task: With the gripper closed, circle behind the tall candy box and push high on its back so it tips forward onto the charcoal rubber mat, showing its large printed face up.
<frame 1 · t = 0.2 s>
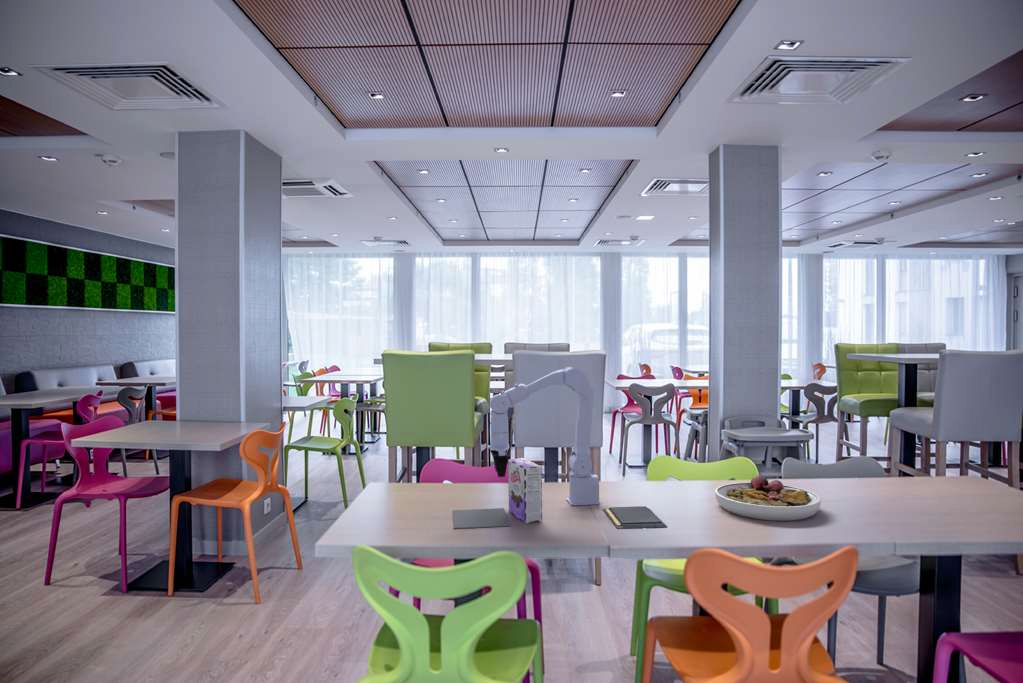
hand: (500, 474, 194), 10 cm above the table, fingers open, 7 cm apart
bowl: (766, 510, 186), on the table
candy box: (525, 517, 181), on the table
wallet: (633, 520, 178), on the table
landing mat: (480, 518, 179), on the table
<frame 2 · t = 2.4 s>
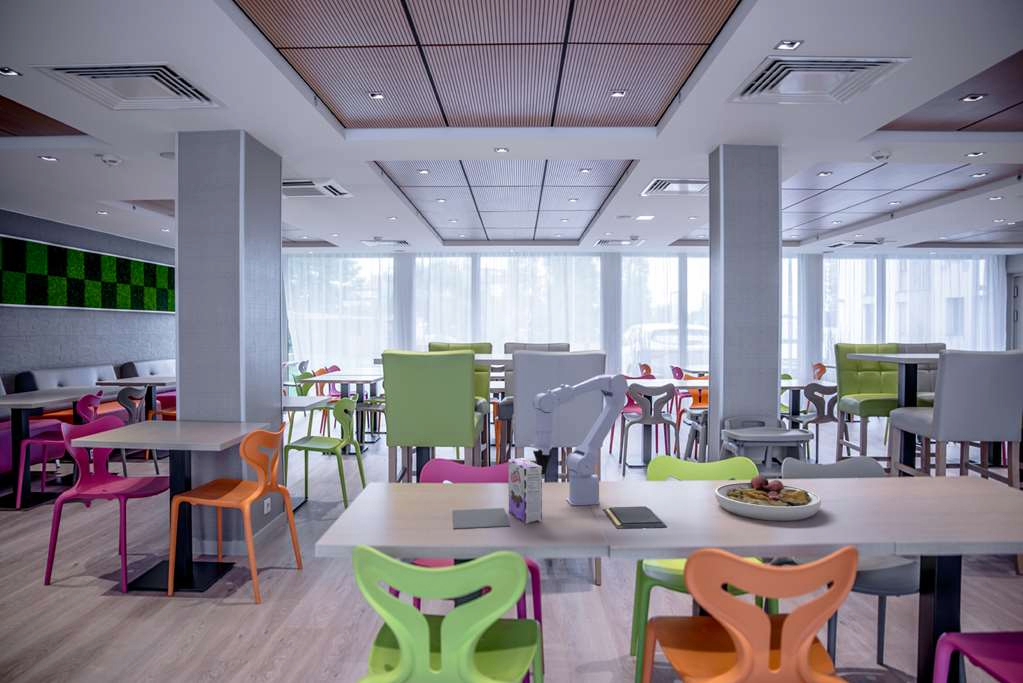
hand: (541, 473, 191), 10 cm above the table, fingers closed
nothing on the table moved.
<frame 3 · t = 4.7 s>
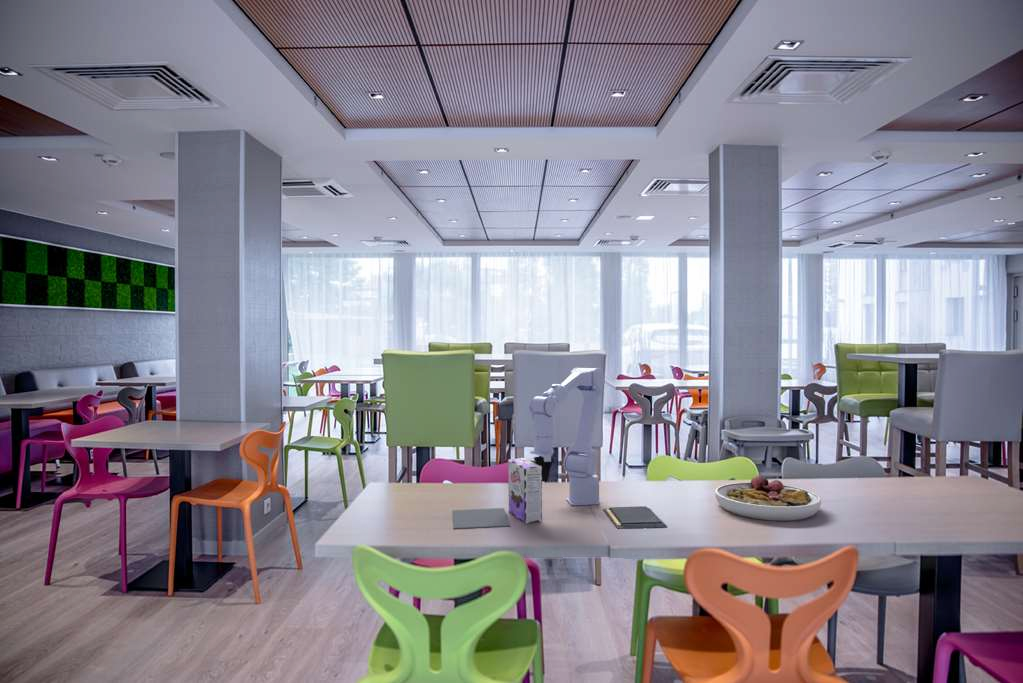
hand: (543, 481, 182), 10 cm above the table, fingers closed
candy box: (525, 517, 181), on the table, touching gripper
everything else where it was.
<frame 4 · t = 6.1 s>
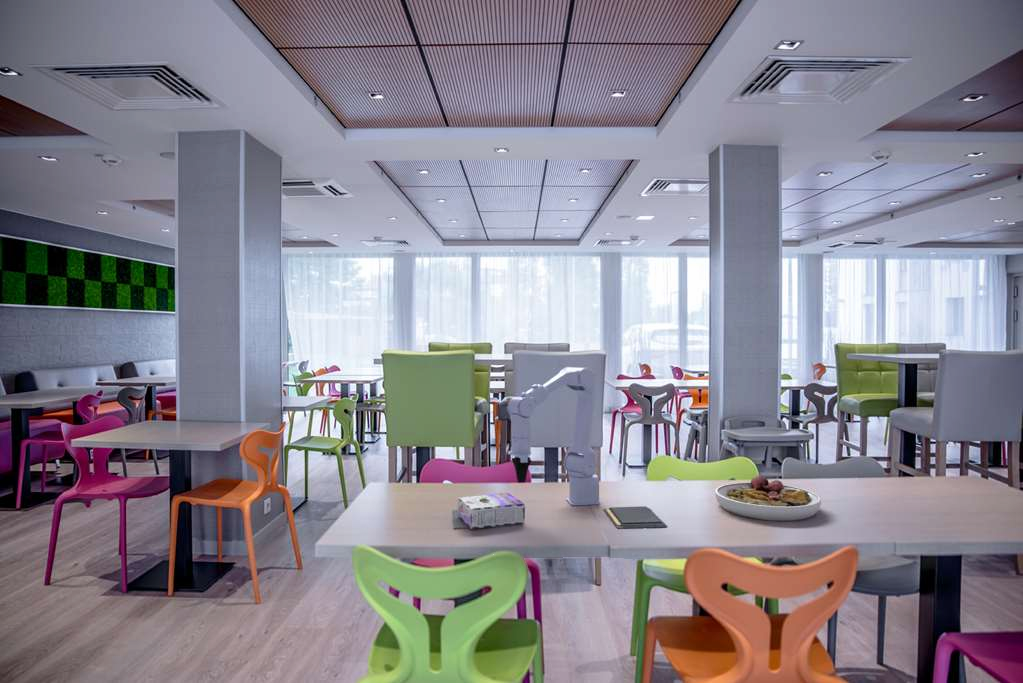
hand: (521, 482, 181), 10 cm above the table, fingers closed
candy box: (517, 507, 180), point 3 cm above the table, touching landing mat
everything else where it was.
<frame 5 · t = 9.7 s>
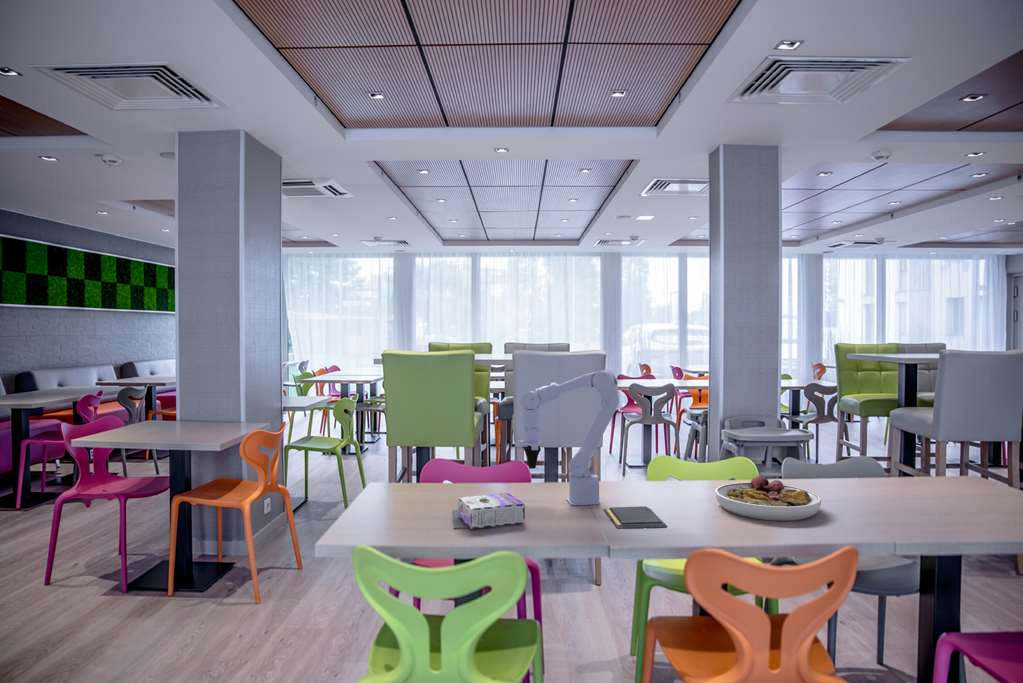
hand: (532, 468, 200), 10 cm above the table, fingers closed
nothing on the table moved.
at the end: candy box tilted 89°; candy box inside the target area (2.1 cm from its centre), point 3.1 cm above the table; the gripper is holding nothing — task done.
